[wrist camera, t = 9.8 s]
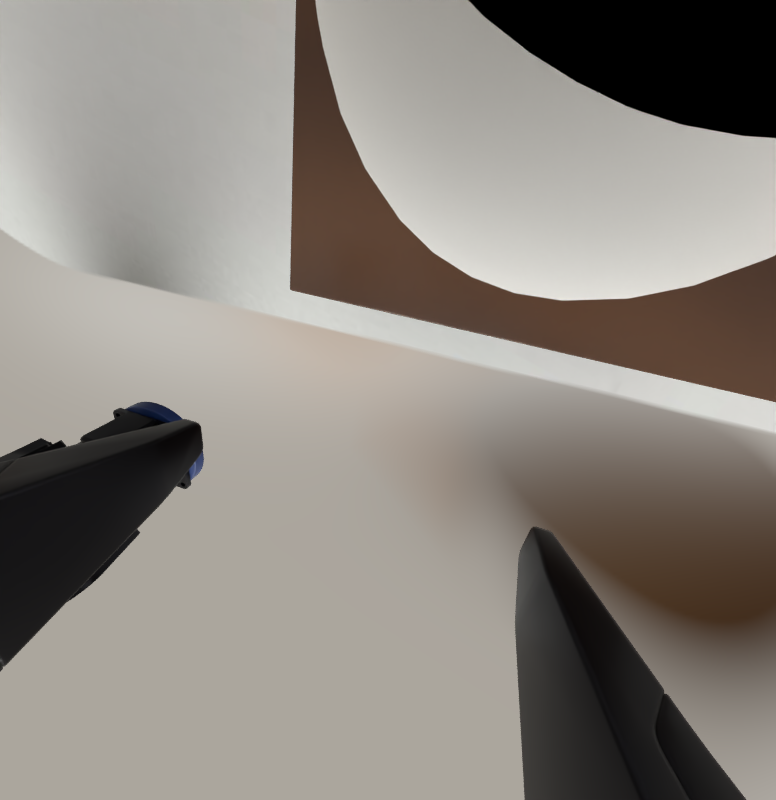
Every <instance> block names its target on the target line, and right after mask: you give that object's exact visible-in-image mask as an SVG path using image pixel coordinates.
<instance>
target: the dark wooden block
mask: <svg viewBox="0 0 776 800" xmlns="http://www.w3.org/2000/svg"><path fill="white" fill-rule="evenodd" d="M290 290H292V291H297V292H301V293H305V294H310V295H314V296H318V297H323V298H327V299H331V300H336V301H340V302H344V303H349V304H353V305H357V306H362V307H366V308H370V309H375V310H379V311H383V312H388V313H392V314H396V315H401V316H405V317H409V318H414V319H418V320H422V321H427V322H431V323H435V324H440V325H444V326H448V327H453V328H457V329H461V330H466V331H470V332H474V333H479V334H483V335H487V336H492V337H496V338H500V339H505V340H509V341H513V342H518V343H522V344H526V345H531V346H535V347H539V348H544V349H548V350H552V351H557V352H561V353H565V354H569V355H574V356H578V357H582V358H587V359H591V360H595V361H600V362H604V363H608V364H613V365H617V366H621V367H626V368H630V369H634V370H639V371H643V372H647V373H652V374H656V375H660V376H665V377H669V378H673V379H678V380H682V381H686V382H691V383H695V384H699V385H704V386H708V387H712V388H717V389H721V390H725V391H730V392H734V393H738V394H743V395H747V396H751V397H756V398H760V399H764V400H769V401H773V402H776V255H775V256H773V257H770V258H768V259H766V260H763V261H760V262H757V263H755V264H752V265H749V266H746V267H744V268H741V269H738V270H735V271H732V272H730V273H727V274H724V275H721V276H719V277H716V278H713V279H710V280H708V281H705V282H702V283H699V284H697V285H694V286H689V287H684V288H679V289H674V290H669V291H664V292H659V293H654V294H649V295H644V296H639V297H634V298H629V299H597V300H563V301H561V300H555V299H549V298H542V297H536V296H530V295H523V294H517V293H513V292H510V291H507V290H505V289H502V288H499V287H497V286H494V285H491V284H489V283H486V282H483V281H481V280H478V279H475V278H473V277H471V276H469V275H467V274H466V273H464V272H463V271H461V270H460V269H458V268H456V267H455V266H453V265H452V264H450V263H449V262H447V261H446V260H444V259H442V258H441V257H439V256H438V255H436V254H435V253H433V252H432V251H431V250H430V249H429V248H428V247H427V246H426V245H425V244H424V243H423V242H422V241H421V240H420V239H419V238H418V237H417V236H416V235H415V234H414V233H413V232H412V231H411V230H410V229H409V228H408V227H407V226H406V225H405V224H404V223H403V222H402V221H401V220H400V219H399V218H398V216H397V215H396V213H395V212H394V210H393V209H392V207H391V206H390V204H389V203H388V201H387V200H386V199H385V197H384V196H383V194H382V193H381V191H380V190H379V188H378V187H377V185H376V184H375V182H374V181H373V179H372V178H371V176H370V175H369V173H368V172H367V170H366V169H365V167H364V165H363V162H362V160H361V158H360V156H359V153H358V151H357V149H356V147H355V144H354V142H353V140H352V138H351V135H350V133H349V131H348V129H347V126H346V124H345V122H344V120H343V118H342V115H341V113H340V109H339V105H338V101H337V98H336V94H335V90H334V87H333V83H332V79H331V75H330V72H329V68H328V64H327V60H326V57H325V53H324V49H323V45H322V39H321V34H320V28H319V23H318V17H317V10H316V2H315V0H296V31H295V80H294V128H293V177H292V226H291V275H290Z"/></svg>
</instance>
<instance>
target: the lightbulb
mask: <svg viewBox="0 0 776 800" xmlns="http://www.w3.org/2000/svg"><path fill="white" fill-rule="evenodd" d="M315 2H316V10H317V17H318V23H319V28H320V34H321V39H322V45H323V49H324V53H325V57H326V60H327V64H328V68H329V72H330V75H331V79H332V83H333V87H334V90H335V94H336V98H337V101H338V105H339V109H340V113H341V115H342V118H343V120H344V122H345V124H346V126H347V129H348V131H349V133H350V135H351V138H352V140H353V142H354V144H355V147H356V149H357V151H358V153H359V156H360V158H361V160H362V162H363V165H364V167H365V169H366V170H367V172H368V173H369V175H370V176H371V178H372V179H373V181H374V182H375V184H376V185H377V187H378V188H379V190H380V191H381V193H382V194H383V196H384V197H385V199H386V200H387V201H388V203H389V204H390V206H391V207H392V209H393V210H394V212H395V213H396V215H397V216H398V218H399V219H400V220H401V221H402V222H403V223H404V224H405V225H406V226H407V227H408V228H409V229H410V230H411V231H412V232H413V233H414V234H415V235H416V236H417V237H418V238H419V239H420V240H421V241H422V242H423V243H424V244H425V245H426V246H427V247H428V248H429V249H430V250H431V251H432V252H433V253H435V254H436V255H438V256H439V257H441V258H442V259H444V260H446V261H447V262H449V263H450V264H452V265H453V266H455V267H456V268H458V269H460V270H461V271H463V272H464V273H466V274H467V275H469V276H471V277H473V278H475V279H478V280H481V281H483V282H486V283H489V284H491V285H494V286H497V287H499V288H502V289H505V290H507V291H510V292H513V293H517V294H523V295H530V296H536V297H542V298H549V299H555V300H561V301H563V300H597V299H629V298H634V297H639V296H644V295H649V294H654V293H659V292H664V291H669V290H674V289H679V288H684V287H689V286H694V285H697V284H699V283H702V282H705V281H708V280H710V279H713V278H716V277H719V276H721V275H724V274H727V273H730V272H732V271H735V270H738V269H741V268H744V267H746V266H749V265H752V264H755V263H757V262H760V261H763V260H766V259H768V258H770V257H773V256H775V255H776V0H315Z"/></svg>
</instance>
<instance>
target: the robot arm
mask: <svg viewBox="0 0 776 800" xmlns="http://www.w3.org/2000/svg"><path fill="white" fill-rule="evenodd" d="M113 414H114V418H115V419H114V420H112V421H110V422H109V423H107V424H105V425H103V426H101V427H99V428H97V429H95V430H93V431H91V432H89V433H87V434H85V435H84V436H82V437H81V439H80V440H81V442H80V443H78V444H76V445H72V446H68V447H66V445H65V444H64V443H63V441H62V440H61V441H59V442H57V443H55V444H52V443H51V442H48V441H46V440H44V439H42V438H41V439H38V440H37V441H34V442H32V443H30V444H28V445H26V446H24V447H22V448H20V449H17V450H15V451H13V452H11V453H9V454H7V455H5V456H2V457H0V671H1V670H2V669H3V666H5V665H7V663H9V662H10V660H11V659H12V658H13V657H14V656H15V655H16V654H17V653H18V652H19V651H20V650H21V649H22V648H23V647H24V646H25V645H26V644H27V643H28V642H29V641H30V640H31V639H32V638H33V637H34V636H35V634H36V633H37V632H38V631H39V630H40V629H41V628H42V627H43V626H44V625H45V624H46V623H47V622H48V621H49V620H50V619H51V618H52V617H53V616H54V615H55V614H56V613H57V612H58V610H60V608H61V607H62V606H63V605H64V604H65V603H66V602H68V601H69V600H71V599H72V598H74V597H75V596H76V595H78V594H79V593H81V592H82V591H83V590H85V589H86V588H87V587H88V586H90V585H91V584H92V583H93V582H94V581H95V580H96V579H98V578H99V577H100V576H101V574H103V572H104V571H105V570H106V569H107V568H108V567H109V566H110V565H111V564H112V562H114V561H115V559H116V558H117V557H118V556H119V555H120V554H121V553H122V552H123V551H124V550H125V549H126V548H127V546H128V545H129V544H130V543H131V542H132V541H133V540H134V539H135V538H136V537H137V536H138V535H139V533H140V532H139V531H138V530H137V528H138V527H139V526H140V525H141V524H142V523H143V522H144V521H145V520H146V519H147V518H148V517H149V516H150V515H151V514H152V513H153V512H154V511H155V510H156V509H157V508H158V507H159V505H160V504H161V503H162V502H163V501H164V500H165V499H166V497H168V495H169V494H170V493H171V492H172V490H173V489H174V488H175V487H176V486H178V487H181V488H183V489H186V488H188V487H189V486H190V485H191V480H190V473H189V469H190V468H191V467H192V465H193V464H194V463H195V462H196V460H197V459H198V458H199V457H200V455H201V453H202V450H203V441H202V433H201V426H200V425H199V424H198V423H196V422H194V421H190V420H187V419H182V420H178V421H174V422H170V423H166V422H163V421H160V420H157V419H154V418H151V417H148V416H144V415H141V414H138V413H135V412H132V411H129V410H126V409H122V408H119V409H116V410H114V412H113ZM515 631H516V632H515V633H516V651H517V667H518V668H517V669H518V687H519V705H520V722H521V740H522V757H523V758H522V759H523V776H524V794H525V800H746V799H745V797H744V796H743V795H742V794H741V792H740V791H739V790H738V788H737V787H736V786H735V784H734V783H733V782H732V781H731V779H730V778H729V777H728V775H727V774H726V773H725V772H724V770H723V769H722V768H721V767H720V765H719V764H718V763H717V761H716V760H715V759H714V758H713V756H712V755H711V753H710V752H709V751H708V750H707V748H706V747H705V745H704V744H703V743H702V741H701V740H700V739H699V737H698V736H697V734H696V733H695V732H694V731H693V729H692V728H691V726H690V725H689V724H688V722H687V721H686V720H685V718H684V717H683V715H682V714H681V712H680V711H679V710H678V708H677V707H676V705H675V704H674V703H673V701H672V700H671V698H670V697H669V696H668V695H667V694H664V689H663V688H662V686H661V685H660V683H659V682H658V680H657V679H656V678H655V676H654V675H653V674H652V672H651V671H650V669H649V668H648V666H647V665H646V664H645V662H644V661H643V659H642V658H641V657H640V655H639V654H638V652H637V651H636V650H635V648H634V647H633V645H632V644H631V642H630V641H629V640H628V638H627V637H626V635H625V634H624V633H623V631H622V630H621V629H620V627H619V626H618V624H617V623H616V621H615V620H614V619H613V617H612V616H611V614H610V613H609V612H608V610H607V609H606V607H605V606H604V605H603V603H602V602H601V600H600V599H599V598H598V596H597V595H596V593H595V592H594V590H593V589H592V588H591V586H590V585H589V584H588V582H587V581H586V579H585V578H584V576H583V575H582V574H581V572H580V571H579V569H578V568H577V567H576V565H575V564H574V562H573V561H572V560H571V558H570V557H569V555H568V554H567V553H566V551H565V550H564V548H563V547H562V546H561V544H560V543H559V541H558V540H557V539H556V537H555V536H554V534H553V533H552V532H550V531H549V530H545V529H542V528H539V527H533V528H532V529H531V530H530V532H529V534H528V536H527V538H526V540H525V542H524V544H523V546H522V548H521V550H520V554H519V562H518V579H517V597H516V615H515Z"/></svg>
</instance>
